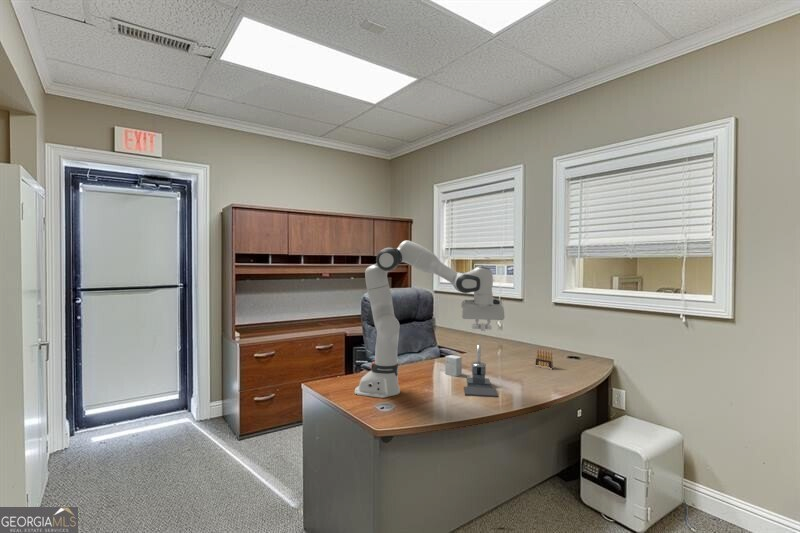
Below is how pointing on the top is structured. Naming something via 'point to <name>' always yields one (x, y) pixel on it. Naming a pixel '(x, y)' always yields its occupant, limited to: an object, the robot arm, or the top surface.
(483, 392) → the pad
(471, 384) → the vise
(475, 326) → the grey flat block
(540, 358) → the ammunition clip
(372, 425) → the top surface
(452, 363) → the small box
